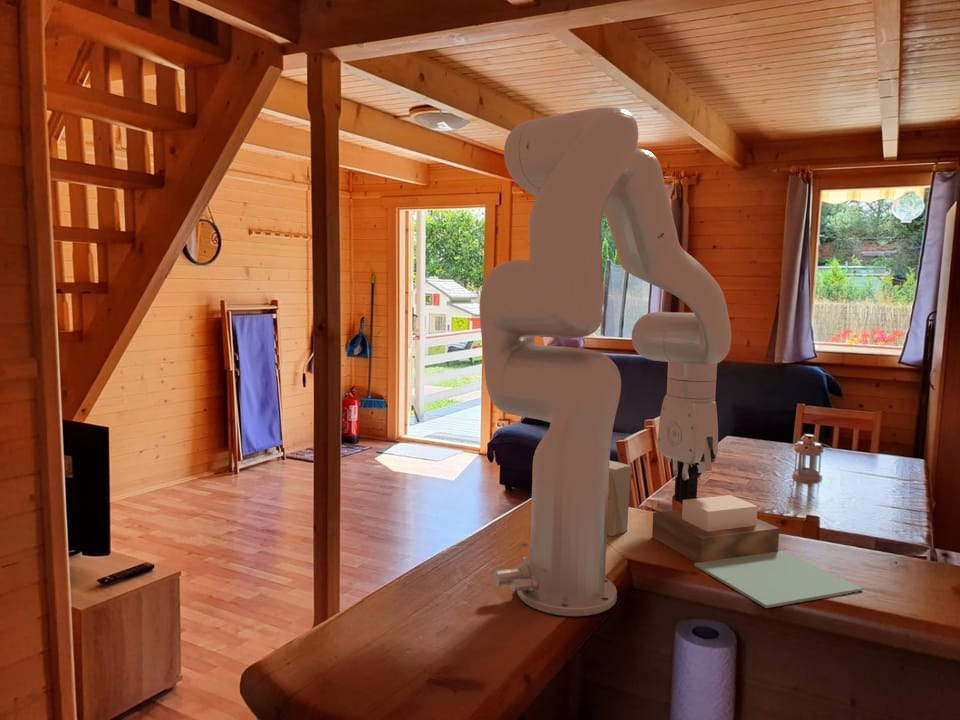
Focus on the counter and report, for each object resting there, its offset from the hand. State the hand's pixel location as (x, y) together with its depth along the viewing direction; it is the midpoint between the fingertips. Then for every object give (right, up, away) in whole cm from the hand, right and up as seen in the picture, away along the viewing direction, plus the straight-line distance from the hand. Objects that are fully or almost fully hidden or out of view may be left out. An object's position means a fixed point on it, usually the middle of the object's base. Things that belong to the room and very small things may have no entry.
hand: (685, 501), depth 115 cm
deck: (+2, -6, -6) cm, 9 cm away
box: (-13, -5, 0) cm, 14 cm away
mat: (+7, -7, -18) cm, 21 cm away
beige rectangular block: (+3, 0, -8) cm, 8 cm away
